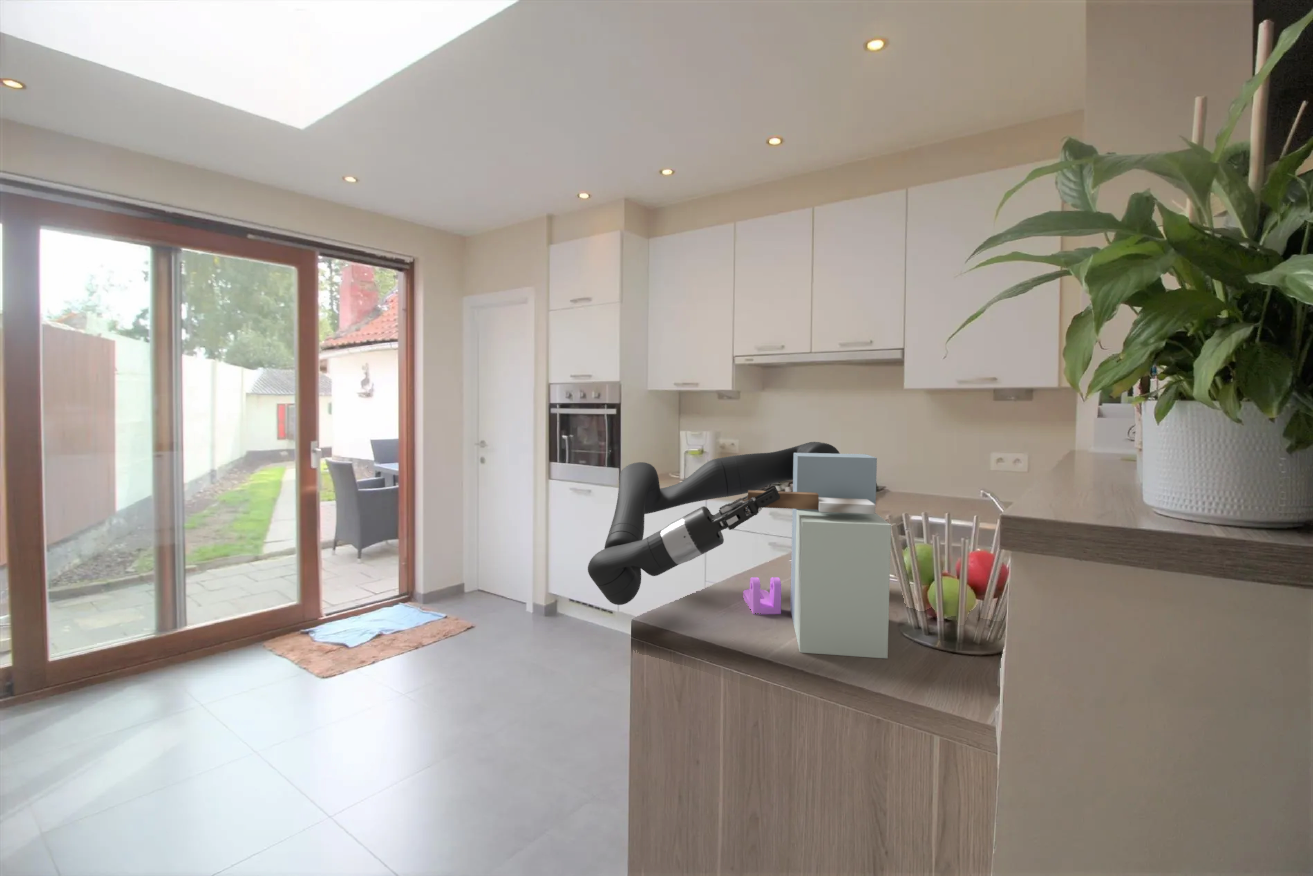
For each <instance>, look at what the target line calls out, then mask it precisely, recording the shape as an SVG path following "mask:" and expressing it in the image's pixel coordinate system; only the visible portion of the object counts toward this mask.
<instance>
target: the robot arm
mask: <svg viewBox="0 0 1313 876" xmlns="http://www.w3.org/2000/svg"><path fill="white" fill-rule="evenodd" d="M794 453H831V454H841V453H840V451H839V450H838V449H837V447H835V446H833V445H832V444H829V443H825V442H821V441H810V442H805V443H802V444H799V445H796V446H792V447H789V448H785V449H782V450H778V451H777V450H776V451H773V452H756V453H745V454H736V455H730V456H724V457H718V458H714V459H711V460H709V461H707V462H705V463H704V464H703V465H701V466H700V467H699V468H698V469H696V470H695V471H694V472H693V473H692V474H690V475H689V476H688V477H687V478H685V479H684V480H682V481H679V482H678V483H676V484H673V485H669V486H667V487H661V484H660V480H659V475H658V470H657V469H656V468H655V466H653V464H651V463H649V462H648V463H647V462H645V461H643V462H640V461H639V462H634V463H631V464H628V465H626V466H625V467H623V469H622V470H621V471H620V473H619V476H618V492H617V493H618V494H617V500H616V505H615V510H614V514H613V518H612V521H611V524H610V528H609V531H608V533H607V536H606V540H605V544H604V547H603V548H604V549H601V550H600V551H598V552H596V553H595V554H594V555H593V556H592V557H591V559H590V560H589V562H588V565H587V574H588V575H589V578H591V580H592V581H593V582H594V584H595V585H596V587H597V588H598V589H599V590H600V592H601V593H602V594H603V596H604V597H605V598H606V600H607V601H608V602H609V603H610V604H613V605H617V606H622V605H626V604H628V603H630V602H631V601H632V600H633V599H634V598H635V597H636V596H637V594H638V592H639V591H640V588H641V583H642V571H643V572H645V573H646V574H648V575H649V576H650V577H651V576H652V577H657V576H660V575H661V574H663V573H665V572H667V571H669V570H671V569H674V568H675V567H677V566H679V565H681V564H684V563H687V562H690V561H693V560H694V559H696V558H698V557H700V556H702V555H704V554H706V553H708V552H709V551H712V550H714V549H716V548H718V547H719V546H721V545H723V544H724V542H725V541H724V540H725V539H724V536H723V533H722V531H723V530H726V529H728V530H729V531H731V530H734V529H736V527H738V526H740V525H741V524H743V523H744V522H746V521H748V520H750V519H751V518H753V517H754V516H757V515H758V514H759V513H760V512H761V511H762V510H763V507H765V506H767V505H769V504H771V503H773V502H775V501H777V500H779V499H780V495H779V493H778V489H777V487H776V485H773V484H775V483H781V482H786V481H793V459H794ZM769 485H771V486H769ZM767 486H769V487H767ZM765 487H766V488H765ZM762 488H765V489H762ZM760 489H762V490H761V491H765V492H763V493H762V494H760V495H758V496H756V497H752V498H751V499H749V500H748V490H754V491H758V490H760ZM744 494H747V495H746V496H743V497H740V498H738V499H736V500H734V501H732V502H731V503H730V502H728V503H726V504H725V503H724V505H721V506H720V507H719V508H718V509H719V510H718V512H717V513H715V514H712V512H711V510H709V508H708V507H707V506H701V507H698V508H697V509H695V510H694V511H691V512H690V513H687V514H685V515H684V516H682V517H680V518H678V519H676V520H674V521H673V522H671V523H670V524H668V525H667V526H665V527H664V528H662V529H660V530H658V531H657V532H654V533H652V534H651V535H649V536H647V537H645V538H644V532H645V515H648V514H652V513H657V512H660V511H665V510H668V509H672V508H675V507H679V506H683V505H688V504H693V503H697V502H701V501H708V500H709V501H710V500H714V499H721V498H729V497H735V496H739V495H744ZM756 498H757V499H756Z"/></svg>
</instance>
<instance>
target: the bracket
mask: <svg viewBox="0 0 1313 876" xmlns="http://www.w3.org/2000/svg"><path fill="white" fill-rule="evenodd" d="M781 581H782V580H781V579H780V577H778V576H777V577H776V576H775V577H773V576H772V577H770V578H769V591H768V590H766V589H762V588H761V581H760V578H759V577H757V576H755V577H754V576H753V577H752V576H751V577H750V578H749V588H747V589H744V590H743V591H742V599H743V598H744V599H743V601H744V602H745V604H746V603H747V604H748V605H747V604H746V605H747V607H748V606H749V607H748V608H749V610H750V609H751V610H750V611H752V612H751V614H752V615H781V614H782V582H781ZM755 613H756V614H755ZM757 613H759V614H757ZM760 613H761V614H760Z"/></svg>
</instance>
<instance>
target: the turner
mask: <svg viewBox="0 0 1313 876" xmlns="http://www.w3.org/2000/svg"><path fill="white" fill-rule="evenodd" d="M763 492H765V491H762V490H755V491H754V490H748V493H747V495H748V500H749V499H751V498H752V497H756V496H758V495H760V494H762V493H763ZM778 493H779V495H780V499H779V500H777V501H775V502H773V503H771V504H769V505H767V506H765V507H763V508H767V509H768V508H769V509H772V508H773V509H791V510H792V509H814V510H819V512H838V513H864V514H875V513H876V511H875V510H876V507H877V505H875V504H874V503H872V502H871V501H869V500H868V499H853V498H825V497H819V495H818V493H812V492H793V491H782V490H781V491H778ZM756 499H757V498H756ZM763 508H762V509H763Z"/></svg>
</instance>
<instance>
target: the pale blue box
mask: <svg viewBox="0 0 1313 876" xmlns="http://www.w3.org/2000/svg"><path fill="white" fill-rule="evenodd" d="M877 462H878V458H877V457H876V456H872V455H869V454H866V453H840V454H831V453H794V459H793V480H792V492H812V493H818V495H819V497H825V498H853V499H868V500H869V501H871V502H872V503H874V504H875V505H876V503H877V501H876V500H877V469H878V468H877V467H878V466H877V465H878V463H877ZM876 506H877V505H876ZM791 510H792V511H791V513H792V515H791V516H792V519H791V521H792V523H791V556H790V557H791V564H790V565H791V566H790V571H791V572H790V607H789V608H790V610H789V611H790V614H791V619H792V623H793V627H794V628H793V629H794V632H795V637H796V641H797V645H798V646H797V648H798V650H799V651H798V653H802V654H815V655H816V654H817V655H818V654H819V655H830V656H831V655H832V656H846V657H858V658H859V657H861V658H874V659H889V657H888V652H889V651H888V650H889V617H890V582H891V581H890V580H891V579H890V578H891V575H890V574H891V546H892V545H891V544H892V543H891V539H892V524H891V523H890V522H888V521H887V520H885V519H884V518H883V517H882V516H881V515H879V514H878V513H877V512H876V510H875V514H864V513H838V512H819V510H814V509H791Z"/></svg>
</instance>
